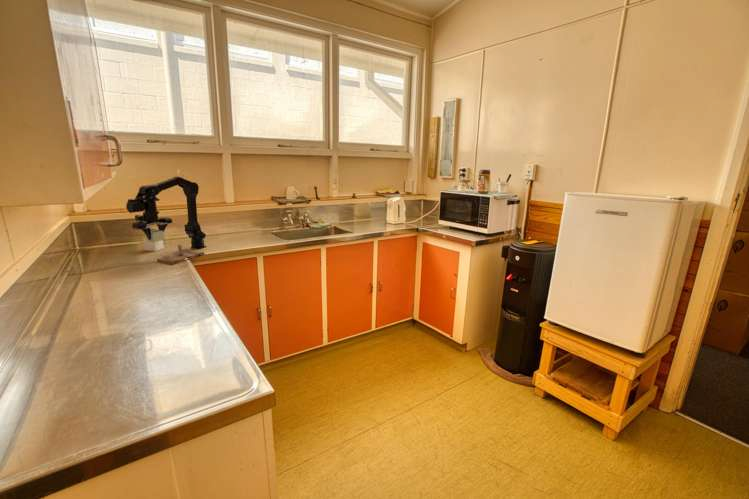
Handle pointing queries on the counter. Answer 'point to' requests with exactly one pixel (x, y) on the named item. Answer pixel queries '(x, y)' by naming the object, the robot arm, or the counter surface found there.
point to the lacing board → (180, 256)
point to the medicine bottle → (152, 245)
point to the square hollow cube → (156, 236)
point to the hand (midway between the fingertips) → (155, 238)
